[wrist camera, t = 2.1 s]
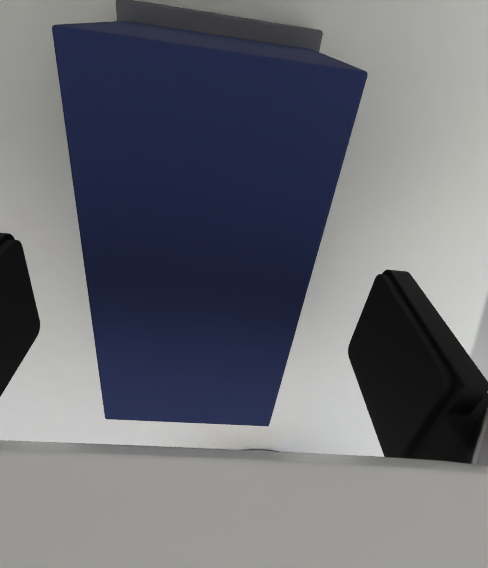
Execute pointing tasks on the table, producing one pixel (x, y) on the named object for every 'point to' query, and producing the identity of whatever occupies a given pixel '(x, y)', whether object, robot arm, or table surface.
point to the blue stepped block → (199, 200)
